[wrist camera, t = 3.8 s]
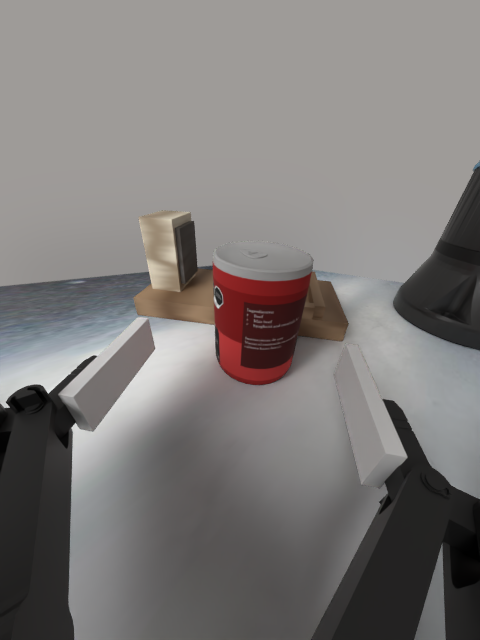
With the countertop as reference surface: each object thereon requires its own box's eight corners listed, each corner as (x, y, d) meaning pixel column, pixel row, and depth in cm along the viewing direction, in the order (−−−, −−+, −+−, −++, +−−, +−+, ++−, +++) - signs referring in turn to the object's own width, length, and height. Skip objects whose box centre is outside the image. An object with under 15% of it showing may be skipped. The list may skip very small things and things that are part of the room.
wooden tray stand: (326, 295, 36) (348, 219, 30) (342, 341, 26) (379, 240, 20) (175, 279, 39) (165, 207, 33) (137, 314, 29) (113, 220, 23)
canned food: (240, 327, 28) (244, 236, 22) (301, 352, 24) (327, 251, 18) (199, 363, 22) (189, 254, 16) (271, 402, 19) (292, 281, 13)
